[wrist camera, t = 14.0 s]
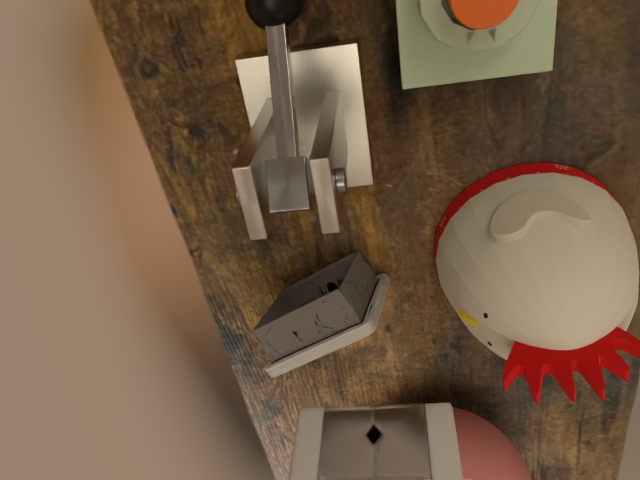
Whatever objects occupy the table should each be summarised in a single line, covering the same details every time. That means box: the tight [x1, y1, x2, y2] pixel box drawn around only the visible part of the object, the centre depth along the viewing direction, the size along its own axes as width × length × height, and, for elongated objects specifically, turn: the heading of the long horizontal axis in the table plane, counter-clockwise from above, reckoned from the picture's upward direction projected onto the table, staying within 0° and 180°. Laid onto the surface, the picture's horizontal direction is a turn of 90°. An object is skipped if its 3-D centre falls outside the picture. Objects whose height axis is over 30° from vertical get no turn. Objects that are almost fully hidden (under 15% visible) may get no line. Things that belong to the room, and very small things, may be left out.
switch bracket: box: [232, 38, 374, 240], centre depth 33 cm, size 10×8×12 cm
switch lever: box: [245, 0, 317, 213], centre depth 30 cm, size 13×3×3 cm
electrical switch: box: [253, 250, 391, 378], centre depth 42 cm, size 9×5×9 cm, turn 125°
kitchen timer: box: [434, 162, 640, 404], centre depth 36 cm, size 14×14×15 cm
